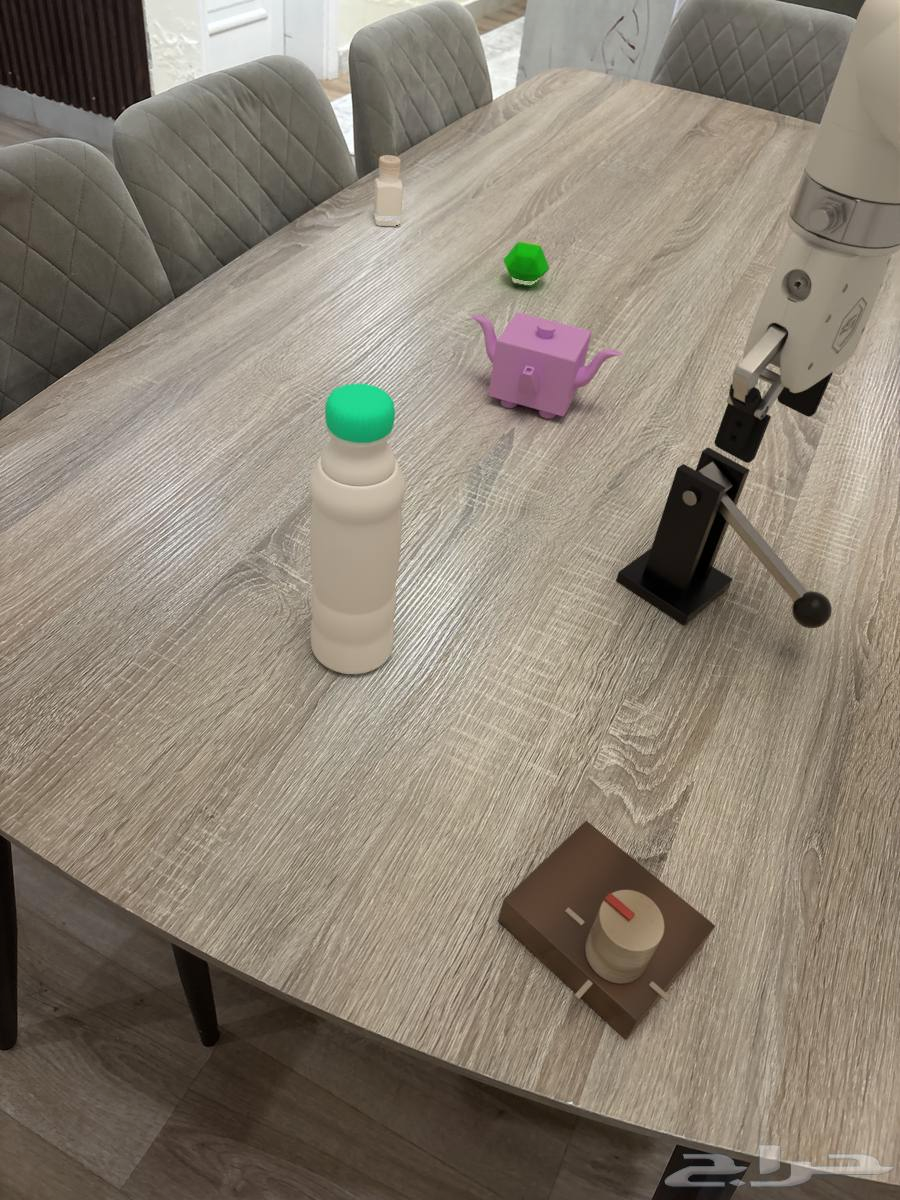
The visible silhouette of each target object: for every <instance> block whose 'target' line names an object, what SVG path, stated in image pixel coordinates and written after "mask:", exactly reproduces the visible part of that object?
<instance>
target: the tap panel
mask: <svg viewBox="0 0 900 1200" xmlns="http://www.w3.org/2000/svg"><path fill="white" fill-rule="evenodd" d="M619 890H633V891H637V892H640V893H642V894H644V895H645V896H647V897H648V898H650V899H651V900H652V901H653V902H654V903H655V904H656V905H657V907H658V908H659V910H660V911H661V913H662V916H663V919H664V934H663V937H662V939H661V941H660V942H659V944H658V946H657V948H656V950H655V952H654V954H653V956H652V957H651V959H650V961H649V963H648V965H647V967H646V969H645V970H644V972H643V974H642V975H641V976H640V977H639V978H638V979H636V980H635V981H633V982H630V983H625V984H619V983H613V982H610V981H607V980H605V979H604V978H602V977H601V976H599V975H598V974H597V973H596V972H595V971H594V970H593V969H592V967H591V966H590V964H589V962H588V960H587V957H586V952H585V945H586V940H587V938H588V935H589V933H590V930H591V928H592V926H593V923H594V921H595V918H596V916H597V914H598V911H599V909H600V906H601V904H602V902H603V901H604V899H605V898H606V896H607V895H608V894H609V893H613V892H616V891H619ZM497 922H498V923H499V924H501V926H502V927H504V928H505V929H506V930H507V931H508V932H509V933H510V934H511V935H512V936H513V937H514V938H516V940H517V941H519V942H520V943H521V944H522V945H523V946H524V947H525V948H526V949H527V950H528V951H529V952H530V953H532V954H533V955H534V956H535V957H536V958H537V959H538V960H539V961H540V962H541V963H542V964H544V966H546V967H547V968H548V969H549V970H550V971H551V972H552V973H553V974H554V975H555V976H556V977H558V979H560V980H561V982H563V984H565V985H566V986H567V987H568V988H569V989H570V990H571V991H572V992H573V993H575V994H574V997H575V998H576V999H578V1000H580V999H581V1000H583V1002H584V1003H585V1004H587V1005H588V1006H589V1008H590V1009H592V1010H593V1011H594V1012H595V1013H596V1014H597V1015H598V1016H600V1018H602V1019H603V1020H604V1021H605V1022H606V1023H607V1024H608V1025H609V1026H610V1027H611V1028H612V1029H613V1030H614V1031H616V1032H617V1033H618V1034H619V1035H620V1036H621V1037H622V1038H623V1039H624V1040H625V1041H626V1040H628V1039H629V1038H630V1037H631V1035H632V1034H633V1033H634V1032H635V1031H636V1029H637V1028H638V1026H640V1025H641V1023H642V1022H643V1021H644V1020H645V1018H646V1017H647V1016H648V1014H649V1013H650V1012H651V1011H652V1010H653V1008H655V1006H656V1005H657V1003H658V1002H659V1001H660V1000H661V999H663V1000H664V1001H665V1002H668V1001H669V1000H670V999H671V996H670V995H669V994H668V993H667V991H669V990H670V988H671V986H672V985H673V984H674V983H675V982H676V980H677V979H678V978H679V977H680V975H681V974H682V973H683V972H684V970H685V969H686V968H688V966H689V965H690V963H691V962H692V961H693V960H694V959H695V957H696V956H697V955H698V954H699V952H701V950H702V949H703V947H704V945H705V944H706V943H707V941H708V939H709V938H710V936H711V934H712V933H713V931H714V929H715V928H716V925H715V923H713V922H712V921H710V920H709V919H708V918H707V917H706V916H704V915H703V914H702V913H701V912H699V911H698V910H697V909H696V908H694V907H693V906H692V905H691V904H690V903H688V902H687V901H686V900H684V899H683V898H682V897H681V896H679V895H678V894H677V893H676V892H675V891H673V890H672V889H671V888H670V887H668V886H667V885H666V884H665V883H663V881H661V880H660V879H659V878H658V877H657V876H655V875H654V874H652V872H650V871H649V870H648V869H647V868H646V867H644V866H643V865H641V864H640V863H639V862H638V861H637V860H635V859H634V857H632V856H631V855H630V854H629V853H627V852H626V851H624V850H623V849H622V848H621V847H620V846H619V845H617V844H616V843H614V841H612V840H611V839H610V838H608V836H606V835H605V834H603V832H601V831H600V830H599V829H597V828H596V827H595V826H594V825H593V824H591V823H590V821H588V820H585V821H583V822H582V823H581V824H580V825H579V826H578V827H577V828H576V829H575V830H574V831H573V832H572V833H571V834H570V835H569V836H568V837H567V838H566V839H565V840H563V842H561V844H559V846H558V847H556V848H555V850H553V851H552V852H551V853H550V854H549V855H548V856H547V857H545V859H544V860H543V861H542V862H540V863H539V864H538V866H536V867H535V869H534V870H532V871H531V872H530V873H529V874H528V875H527V876H526V877H525V878H524V879H523V880H522V881H521V882H520V883H519V884H518V885H517V886H516V887H515V888H513V890H512V891H510V892H509V893H508V894H507V895H506V896H505V897H504V898H503V900H502V903H501V907H500V911H499V915H498V919H497Z"/></svg>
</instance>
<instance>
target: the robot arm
mask: <svg viewBox="0 0 900 1200" xmlns="http://www.w3.org/2000/svg"><path fill="white" fill-rule="evenodd" d="M786 223H787V225H788V227H789V229H791V230H792V232H790V235H789V238H788V240H787V241H786V244H785V245H784V248H783V250H782V252H781V254H780V257H779V259H778V261H777V263H776V266H775V267H774V270H773V273H772V275H771V277H770V280H769V282H768V284H767V286H766V289H765V292H764V294H763V296H762V299H761V301H760V304H759V307H758V309H757V311H756V314H755V317H754V320H753V322H752V325H751V328H750V330H749V334H748V336H747V339H746V342H745V345H744V348H743V349H744V350H743V353H742V357H741V360H740V362H739V363H738V364H737V365H736V366H735V368H734V370H733V373H732V383H731V384H730V386H729V389H728V390H729V393H728V396H727V399H726V407H725V410H724V413H723V416H722V418H721V421H720V425H719V427H718V430H717V432H716V436H715V438H714V445H715V447H717V449H720V450H722V451H724V452H725V453H727V454H729V455H731V456H733V457H735V458H737V459H738V460H740V461H742V462H743V463H745V464H750V463H751V462H753V461H754V460H755V459H756V456H757V454H758V451H759V449H760V446H761V444H762V441H763V439H764V437H765V434H766V432H767V429H768V426H769V424H770V421H771V420H772V419H771V418H772V416H771V415H769V414H768V412H769V411H770V409H771V408H772V407H773V405H774V403H775V402H776V401H777V402H778V403H780V404H781V405H783V406H785V407H787V408H789V409H791V410H794V411H795V412H797V413H799V414H801V415H804V416H805V417H808V418H810V417H812V416H814V415H815V414H816V413H817V411H818V409H819V406H820V404H821V402H822V399H823V397H824V396H825V393H826V390H827V387H828V385H829V383H830V381H831V378H832V376H833V374H834V372H835V371H836V370H837V369H839V368H840V367H841V366H843V365H844V364H845V363H846V362H847V361H849V360H850V359H851V358H852V356H853V355H854V354H855V353H856V352H857V349H858V346H859V345H860V342H861V340H862V337H863V334H864V332H865V330H866V327H867V324H868V322H869V319H870V316H871V314H872V312H873V309H874V306H875V305H876V301H877V298H878V296H879V293H880V291H881V289H882V286H883V284H884V280H885V278H886V274H887V271H888V269H889V267H890V264H891V260H892V257H893V254H895V253H897V252H899V251H900V0H864V2H863V4H862V5H861V8H860V10H859V12H858V15H857V18H856V20H855V22H854V25H853V29H852V31H851V35H850V37H849V40H848V43H847V46H846V49H845V51H844V55H843V57H842V60H841V62H840V66H839V69H838V72H837V74H836V77H835V80H834V82H833V86H832V88H831V92H830V94H829V98H828V101H827V103H826V105H825V108H824V112H823V114H822V118H821V120H820V123H819V125H818V129H817V132H816V134H815V138H814V140H813V143H812V146H811V149H810V151H809V155H808V158H807V160H806V164H805V166H804V169H803V171H802V174H801V178H800V179H799V183H798V186H797V189H796V192H795V194H794V197H793V200H792V203H791V205H790V209H789V212H788V215H787V217H786ZM769 364H771V365H773V366H775V367H777V368H779V369H780V370H779V371H780V374H779V373H777V372H775V371H772V370H771V369H768V368H767V367H768V366H769ZM759 379H760V380H762V381H764V382H766V383H768V384H770V386H769V387H768V389H767V391H766V392H765V394H764V395H763V397H762V394H761V391H760V389H758V388H756V386H757V385H758V382H759Z"/></svg>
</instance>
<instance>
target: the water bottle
mask: <svg viewBox="0 0 900 1200" xmlns="http://www.w3.org/2000/svg"><path fill="white" fill-rule="evenodd" d="M324 411H325V413H324V417H325V425H326V430H327V433H328V435H329V436H330V437H331V438H330V439H329V441H328V442H327V443H326V444H325V446H324V447H323V449H322V452H321V454H320V455H319V457H318V458H317V460H316V462H315V464H314V466H313V467H312V470H311V472H310V475H309V481H308V490H309V495H310V499H311V504H310V505H311V506H310V516H309V517H310V518H309V519H310V520H309V555H310V556H309V558H310V573H311V574H310V575H311V580H312V581H311V582H312V586H311V591H310V611H311V616H312V618H311V624H310V646H311V650H312V653H313V655H314V656H315V658H316V659H317V661H318V662H319V663H320V664H322V665H323V666H324V667H326V668H327V669H329V670H331V671H334V672H336V673H340V674H344V675H360V674H366V673H368V672H372V671H373V670H376V669H378V668H379V667H381V666H383V665H384V663H386V661H387V660H388V659H389V658H390V656H391V655H392V652H393V649H394V641H395V622H394V619H395V615H396V611H397V589H396V586H397V585H396V584H397V581H398V575H399V568H400V558H401V548H402V532H403V530H402V529H403V508H402V504H403V501H404V499H405V496H406V495H405V494H406V480H405V479H406V478H405V475H404V472H403V470H402V468H401V465H400V464H399V461H398V460H397V459H396V455H395V452H394V450H393V449H392V446H391V445H390V444H389V442H388V441H387V440H388V439H389V438H390V437H391V435H392V432H393V429H394V424H395V417H396V410H395V403H394V401H393V398H392V397H391V396H390V394H389V393H388V392H387V391H386V390H384V389H382V388H380V387H378V386H376V385H373V384H368V383H357V382H356V383H350V384H345V385H341V386H338V387H336V388H334V389H333V390H332V391H331V392H330V393H329V395H328V396H327V399H326V402H325V409H324Z"/></svg>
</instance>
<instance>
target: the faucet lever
mask: <svg viewBox="0 0 900 1200" xmlns="http://www.w3.org/2000/svg"><path fill="white" fill-rule="evenodd" d="M698 472H699V473H701V474H703V475H704V476H706V477H708V478H710V479H712V480H713V481H715V482H717V483H719V484H720V485H722V486H724V487H725V488H726V489H725V491H724V494H723V497H722V499H721V502H720V505H719V507H718V511H719V512H720V513H721V515H722V516H723V517H724V518H725V519H726V521H727V522H728V523H729V526H730V527H731V528H732V529H733V531H734V532H735V533H736V534H737V536H739V538H740V539H741V540H742V542H744V544H745V545H746V546H747V548H748V549H750V551H751V552H752V553H753V554H754V556H755V557H756V558H757V560H758V561H759V562H760V563H761V564H762V565H763V567H764V568H765V569H766V570H767V572H769V574H770V575H771V577H773V579H774V580H775V581H776V582H777V584H778V585H779V586H780V587H781V588H782V589H783V590H784V592H785V593H786V594H787V596H789V598H790V600H792V601H793V604H792V607H791V613H792V616H793V619H794V620H795V622H797V624H799V626H801V627H804V628H805V629H818V628H821V627H822V626H824V625H825V624H827V623H828V622H829V620H830V619H831V616H832V612H833V611H832V610H833V608H832V604H831V601H830V600H829V598H828V597H827V596H826V595H825V594H823V593H821V592H818V591H815V590H813V591H808V590H807V589H806V587H804V585H803V584H802V583H801V582H800V580H799V579H798V578H797V577H796V576H795V575H794V573H793V572H792V571H791V569H790V568H789V567H788V566H787V565H786V563H785V562H784V561H783V560H782V558H780V556H778V554H777V553H776V552H775V551H774V549H773V548H772V547H771V545H769V544H768V542H767V541H766V540H765V539H764V538H763V536H762V535H761V533H759V531H758V530H757V529H756V528H755V527H754V525H753V524H752V523H751V522H750V521H749V520H748V518H747V517H746V516H745V515H744V513H743V512H742V511H741V510H740V509H739V507H738V506H737V505H735V504H734V503H733V502H732V500H731V499H730V498H729V497H728V496H727V494H726V493H725V492H726V491H727V490H729V489H730V488H731V487H732V486H733V485H732V484H731V483H730V482H729V480H728V479H727V478H726V477H725V476H724V474H723V473H722V472H721V471H720V470H719V468H718V467H717V466H716V465H715V464H714V463H713V462H711V463H710V464H708V465H707V466H705V467H704V468H702V469H701V470H699V471H698Z"/></svg>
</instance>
